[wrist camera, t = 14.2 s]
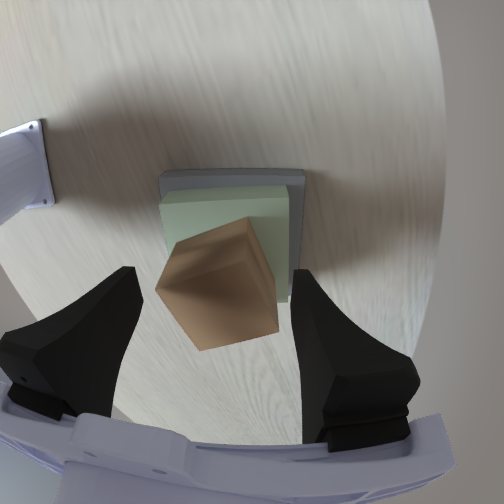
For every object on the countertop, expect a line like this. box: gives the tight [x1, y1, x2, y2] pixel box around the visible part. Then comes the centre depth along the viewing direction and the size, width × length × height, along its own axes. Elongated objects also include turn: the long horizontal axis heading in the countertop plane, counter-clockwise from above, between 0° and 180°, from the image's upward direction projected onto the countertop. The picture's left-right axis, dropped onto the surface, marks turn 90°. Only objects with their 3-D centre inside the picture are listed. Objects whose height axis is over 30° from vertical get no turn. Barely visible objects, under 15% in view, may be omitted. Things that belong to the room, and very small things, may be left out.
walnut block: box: [155, 216, 279, 351], centre depth 17 cm, size 5×5×5 cm
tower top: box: [158, 185, 289, 303], centre depth 20 cm, size 8×8×2 cm
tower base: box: [158, 168, 306, 295], centre depth 23 cm, size 10×10×2 cm
